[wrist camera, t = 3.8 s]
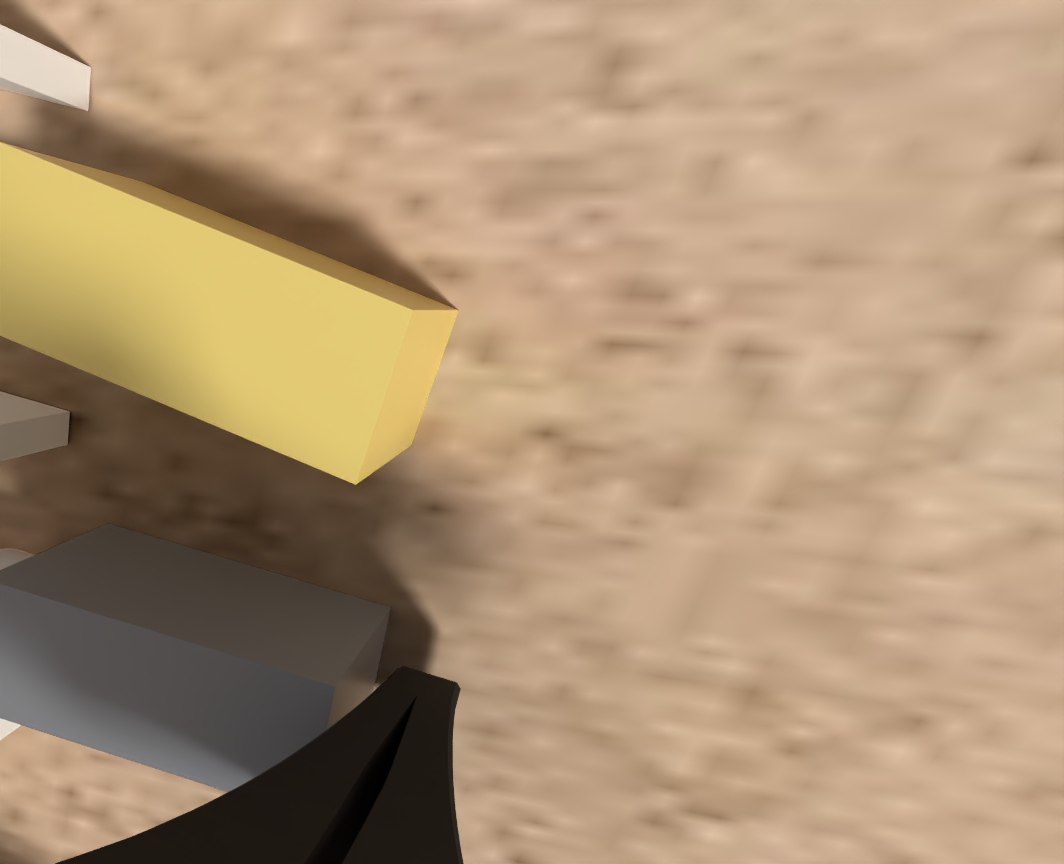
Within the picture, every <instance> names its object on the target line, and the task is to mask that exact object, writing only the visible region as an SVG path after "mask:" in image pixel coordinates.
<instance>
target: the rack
mask: <svg viewBox="0 0 1064 864" xmlns="http://www.w3.org/2000/svg"><path fill="white" fill-rule="evenodd" d="M90 76H91V67H89V66H87V65H85V64H83V63H80V62H78V61H76V60H74V59H72V58H70V57H68V56H66V55H64V54H62V53H59V52H57V51H55V50H53V49H51V48H49V47H47V46H45V45H43V44H41V43H38V42H36V41H34V40H32V39H30V38H28V37H26V36H24V35H22V34H20V33H17V32H15V31H13V30H11V29H9V28H7V27H5V26H3V25H1V24H0V89H3V90H7V91H10V92H14V93H18V94H22V95H26V96H30V97H34V98H38V99H42V100H46V101H50V102H54V103H58V104H62V105H66V106H69V107H73V108H77V109H81V110H85V111H88V109H89V93H90ZM69 416H70V411H66V410H63V409H59V408H56V407H53V406H49V405H46V404H42V403H39V402H35V401H32V400H28V399H25V398H22V397H18V396H15V395H11V394H8V393H4V392H1V391H0V462H1V461H5V460H9V459H13V458H17V457H21V456H25V455H29V454H33V453H37V452H41V451H45V450H49V449H53V448H57V447H61V446H65V445H68V433H69ZM19 726H21V725H19V724H16V723H13V722H10V721H7V720H4V719H1V718H0V740H1V739H3V738H4V737H5V736H7V735H8V734H10V733H11V732H12V731H14V730H15V729H17V728H18V727H19Z"/></svg>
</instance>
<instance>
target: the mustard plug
mask: <svg viewBox="0 0 1064 864" xmlns="http://www.w3.org/2000/svg"><path fill="white" fill-rule="evenodd" d="M458 311H459V310H457V309H455V308H452V307H450V306H447V305H445V304H442V303H440V302H437V301H435V300H432V299H430V298H427V297H425V296H423V295H420V294H418V293H415V292H413V291H410V290H408V289H405V288H403V287H400V286H398V285H395V284H393V283H390V282H388V281H386V280H383V279H381V278H378V277H376V276H373V275H371V274H368V273H366V272H363V271H361V270H358V269H356V268H354V267H351V266H349V265H346V264H344V263H341V262H339V261H336V260H334V259H331V258H329V257H326V256H324V255H322V254H319V253H317V252H314V251H312V250H309V249H307V248H304V247H302V246H299V245H297V244H294V243H292V242H289V241H287V240H285V239H282V238H280V237H277V236H275V235H272V234H270V233H267V232H265V231H262V230H260V229H257V228H255V227H253V226H250V225H248V224H245V223H243V222H240V221H238V220H235V219H233V218H230V217H228V216H225V215H223V214H220V213H218V212H216V211H213V210H211V209H208V208H206V207H203V206H201V205H198V204H196V203H193V202H191V201H188V200H186V199H184V198H181V197H179V196H176V195H174V194H171V193H169V192H166V191H164V190H161V189H159V188H156V187H154V186H152V185H149V184H147V183H144V182H142V181H138V180H135V179H131V178H127V177H124V176H120V175H117V174H113V173H110V172H106V171H102V170H99V169H95V168H92V167H88V166H85V165H81V164H77V163H74V162H70V161H67V160H63V159H60V158H56V157H52V156H49V155H45V154H42V153H38V152H34V151H31V150H27V149H24V148H20V147H17V146H13V145H9V144H6V143H2V142H0V336H2V337H5V338H7V339H9V340H12V341H14V342H16V343H19V344H21V345H24V346H26V347H28V348H31V349H33V350H36V351H38V352H40V353H43V354H45V355H47V356H50V357H52V358H55V359H57V360H59V361H62V362H64V363H67V364H69V365H71V366H74V367H76V368H78V369H81V370H83V371H86V372H88V373H90V374H93V375H95V376H98V377H100V378H102V379H105V380H107V381H109V382H112V383H114V384H117V385H119V386H121V387H124V388H126V389H129V390H131V391H133V392H136V393H138V394H141V395H143V396H145V397H148V398H150V399H152V400H155V401H157V402H160V403H162V404H164V405H167V406H169V407H172V408H174V409H176V410H179V411H181V412H183V413H186V414H188V415H191V416H193V417H195V418H198V419H200V420H203V421H205V422H207V423H210V424H212V425H214V426H217V427H219V428H222V429H224V430H226V431H229V432H231V433H234V434H236V435H238V436H241V437H243V438H245V439H248V440H250V441H253V442H255V443H257V444H260V445H262V446H265V447H267V448H269V449H272V450H274V451H276V452H279V453H281V454H284V455H286V456H288V457H291V458H293V459H296V460H298V461H300V462H303V463H305V464H307V465H310V466H312V467H315V468H317V469H319V470H322V471H324V472H327V473H329V474H331V475H334V476H336V477H338V478H341V479H343V480H346V481H348V482H350V483H353V484H355V485H356V484H357V483H359V482H360V481H362V480H363V479H365V478H366V477H367V476H369V475H370V474H372V473H373V472H374V471H376V470H377V469H379V468H380V467H381V466H383V465H384V464H386V463H387V462H389V461H390V460H391V459H393V458H394V457H396V456H397V455H398V454H400V453H401V452H403V451H404V450H405V449H407V448H408V447H410V446H411V445H412V442H413V440H414V437H415V434H416V431H417V428H418V425H419V422H420V419H421V417H422V414H423V411H424V408H425V405H426V402H427V399H428V397H429V394H430V391H431V388H432V385H433V382H434V379H435V376H436V374H437V371H438V368H439V365H440V362H441V359H442V356H443V354H444V351H445V348H446V345H447V342H448V339H449V336H450V333H451V331H452V328H453V325H454V322H455V319H456V316H457V313H458Z"/></svg>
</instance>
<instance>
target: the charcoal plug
mask: <svg viewBox="0 0 1064 864" xmlns="http://www.w3.org/2000/svg"><path fill="white" fill-rule="evenodd" d="M390 611H391V607H388V606H385V605H382V604H378V603H375V602H372V601H368V600H365V599H362V598H358V597H355V596H351V595H348V594H345V593H341V592H338V591H335V590H331V589H328V588H325V587H321V586H318V585H314V584H311V583H308V582H304V581H301V580H298V579H294V578H291V577H288V576H284V575H281V574H278V573H274V572H271V571H267V570H264V569H261V568H257V567H254V566H251V565H247V564H244V563H241V562H237V561H234V560H230V559H227V558H224V557H220V556H217V555H214V554H210V553H207V552H204V551H200V550H197V549H193V548H190V547H187V546H183V545H180V544H177V543H173V542H170V541H167V540H163V539H160V538H157V537H153V536H150V535H146V534H143V533H140V532H136V531H133V530H130V529H126V528H123V527H120V526H116V525H113V524H109V523H108V524H105V525H103V526H101V527H98V528H96V529H94V530H92V531H89V532H87V533H85V534H82V535H80V536H78V537H75V538H73V539H71V540H68V541H66V542H64V543H62V544H59V545H57V546H55V547H52V548H50V549H48V550H45V551H43V552H41V553H38V554H36V555H35V554H32V553H29V552H25V551H22V550H19V549H15V548H2V549H0V718H1V719H4V720H7V721H10V722H13V723H16V724H19V725H22V726H26V727H29V728H32V729H35V730H38V731H41V732H44V733H47V734H50V735H53V736H56V737H60V738H63V739H66V740H69V741H72V742H75V743H78V744H81V745H84V746H87V747H91V748H94V749H97V750H100V751H103V752H106V753H109V754H112V755H115V756H118V757H121V758H125V759H128V760H131V761H134V762H137V763H140V764H143V765H146V766H149V767H152V768H156V769H159V770H162V771H165V772H168V773H171V774H174V775H177V776H180V777H183V778H186V779H190V780H193V781H196V782H199V783H202V784H205V785H208V786H211V787H214V788H217V789H220V790H224V791H227V792H229V791H231V790H233V789H235V788H237V787H239V786H240V785H242V784H244V783H246V782H248V781H250V780H251V779H253V778H255V777H257V776H258V775H260V774H262V773H263V772H265V771H267V770H268V769H270V768H271V767H273V766H275V765H276V764H278V763H280V762H281V761H283V760H284V759H286V758H287V757H289V756H290V755H292V754H293V753H295V752H296V751H298V750H299V749H301V748H302V747H304V746H305V745H306V744H308V743H309V742H311V741H312V740H313V739H315V738H316V737H317V736H319V735H320V734H322V733H323V732H324V731H326V730H327V729H329V728H330V727H331V726H333V725H334V724H335V723H336V722H338V721H339V720H340V719H341V718H343V717H344V716H345V715H346V714H348V713H349V712H350V711H351V710H352V709H354V708H355V707H356V706H357V705H359V704H360V703H361V702H362V701H363V700H365V699H366V698H367V697H368V696H369V695H370V694H371V693H373V691H374V686H375V681H376V677H377V672H378V667H379V662H380V658H381V653H382V648H383V644H384V639H385V634H386V629H387V625H388V620H389V615H390Z"/></svg>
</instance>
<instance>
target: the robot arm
mask: <svg viewBox="0 0 1064 864" xmlns="http://www.w3.org/2000/svg"><path fill="white" fill-rule="evenodd" d="M459 693H460V687H459V685H458V684H457V683H456V682H453V681H450V680H447V679H443V678H440V677H437V676H434V675H431V674H427V673H424V672H421V671H418V670H415V669H411V668H408V667H405V666H402V667H400V668H398V669H397V670H396V671H395V672H394V673H393V674H392V675H391V676H390V677H389V678H388V679H387V680H386V681H385V682H384V683H382V684H381V685H380V686H379V687H378V688H377V689H376V690H375V691H374V692H373V693H371V694H370V695H369V696H368V697H367V698H366V699H365V700H363V701H362V702H361V703H360V704H359V705H357V706H356V707H355V708H354V709H352V710H351V711H350V712H349V713H348V714H346V715H345V716H344V717H343V718H341V719H340V720H339V721H338V722H336V723H335V724H334V725H333V726H331V727H330V728H329V729H327V730H326V731H324V732H323V733H322V734H320V735H319V736H317V737H316V738H315V739H313V740H312V741H311V742H309V743H308V744H306V745H305V746H304V747H302V748H301V749H299V750H298V751H296V752H295V753H293V754H292V755H290V756H289V757H287V758H286V759H284V760H283V761H281V762H280V763H278V764H276V765H275V766H273V767H271V768H270V769H268V770H267V771H265V772H263V773H262V774H260V775H258V776H257V777H255V778H253V779H251V780H250V781H248V782H246V783H244V784H242V785H240V786H239V787H237V788H235V789H233V790H231V791H229V792H228V793H226V794H224V795H222V796H220V797H218V798H216V799H214V800H212V801H210V802H208V803H206V804H204V805H202V806H200V807H198V808H196V809H194V810H192V811H190V812H187V813H185V814H183V815H181V816H178V817H176V818H174V819H172V820H169V821H167V822H165V823H163V824H160V825H158V826H156V827H154V828H151V829H149V830H147V831H144V832H142V833H140V834H137V835H135V836H132V837H130V838H127V839H124V840H121V841H119V842H116V843H113V844H110V845H107V846H104V847H102V848H99V849H96V850H93V851H90V852H87V853H85V854H82V855H79V856H76V857H73V858H70V859H67V860H64V861H61V862H58V863H56V864H463V859H462V853H461V847H460V841H459V834H458V827H457V819H456V810H455V799H454V785H453V725H454V714H455V708H456V704H457V700H458V697H459Z"/></svg>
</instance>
